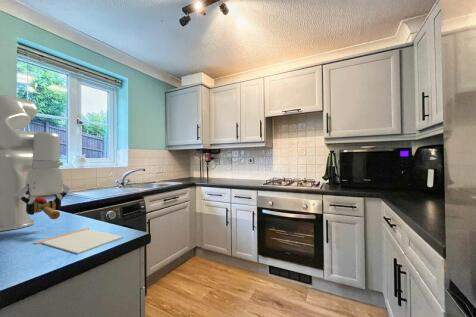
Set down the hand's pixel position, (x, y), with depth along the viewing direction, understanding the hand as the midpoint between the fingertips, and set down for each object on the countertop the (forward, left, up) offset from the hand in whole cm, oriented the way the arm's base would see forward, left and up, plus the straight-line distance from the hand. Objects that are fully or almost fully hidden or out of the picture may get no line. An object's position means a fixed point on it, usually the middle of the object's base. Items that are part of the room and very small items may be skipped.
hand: (44, 211), depth 81 cm
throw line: (+13, 0, -7) cm, 15 cm away
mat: (+24, 0, -7) cm, 26 cm away
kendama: (0, 0, -2) cm, 1 cm away
